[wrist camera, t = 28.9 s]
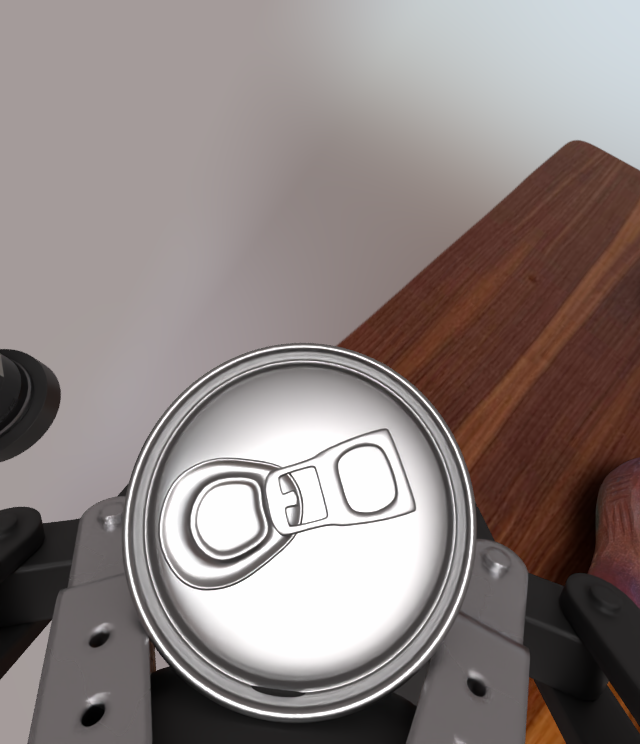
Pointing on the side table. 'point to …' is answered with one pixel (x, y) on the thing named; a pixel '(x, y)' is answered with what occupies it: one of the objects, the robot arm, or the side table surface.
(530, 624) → the robot arm
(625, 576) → the bowl
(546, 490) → the side table surface
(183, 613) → the can
